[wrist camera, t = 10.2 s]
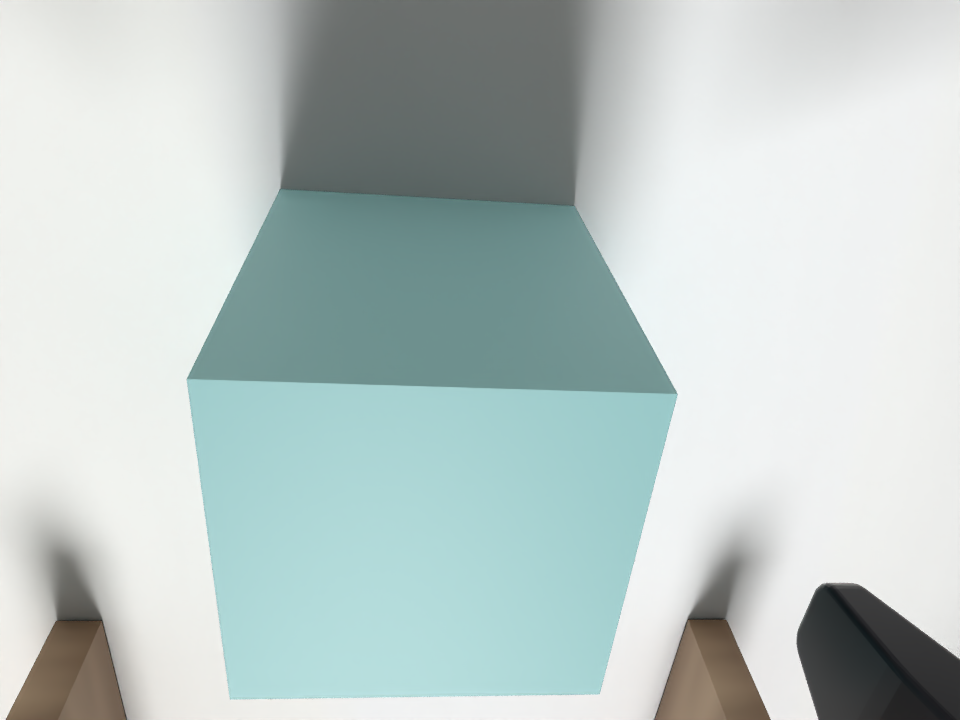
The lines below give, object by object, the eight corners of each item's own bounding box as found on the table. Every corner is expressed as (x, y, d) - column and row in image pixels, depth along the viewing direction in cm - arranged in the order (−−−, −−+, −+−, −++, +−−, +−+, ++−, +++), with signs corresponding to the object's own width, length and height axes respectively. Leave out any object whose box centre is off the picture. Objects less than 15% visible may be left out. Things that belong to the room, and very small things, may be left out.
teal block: (574, 205, 13) (678, 394, 8) (538, 436, 16) (599, 694, 10) (280, 188, 12) (187, 379, 7) (293, 430, 15) (229, 698, 10)
